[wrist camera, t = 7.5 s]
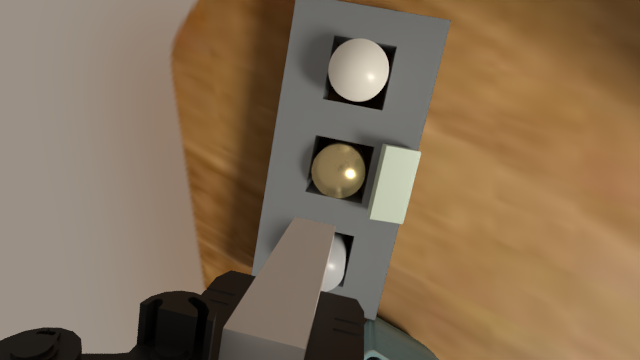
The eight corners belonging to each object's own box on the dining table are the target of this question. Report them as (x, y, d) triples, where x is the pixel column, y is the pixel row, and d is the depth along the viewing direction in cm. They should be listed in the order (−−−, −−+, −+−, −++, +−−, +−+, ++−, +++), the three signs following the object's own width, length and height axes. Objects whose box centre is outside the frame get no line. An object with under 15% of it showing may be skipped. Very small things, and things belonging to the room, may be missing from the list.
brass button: (323, 135, 34) (316, 140, 29) (369, 144, 34) (370, 151, 29) (315, 180, 35) (307, 191, 30) (359, 189, 35) (358, 203, 30)
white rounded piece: (339, 44, 31) (334, 33, 26) (390, 54, 30) (395, 44, 26) (329, 96, 32) (323, 94, 27) (378, 106, 31) (381, 106, 26)
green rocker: (380, 142, 29) (386, 145, 27) (413, 148, 30) (421, 151, 28) (364, 211, 31) (369, 219, 29) (396, 216, 31) (403, 224, 29)
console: (304, 7, 32) (296, -7, 28) (440, 31, 31) (450, 20, 27) (260, 271, 38) (249, 290, 34) (373, 297, 37) (374, 320, 33)
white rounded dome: (306, 219, 34) (296, 237, 29) (351, 229, 34) (349, 249, 29) (298, 260, 35) (287, 285, 30) (342, 271, 35) (338, 297, 30)
